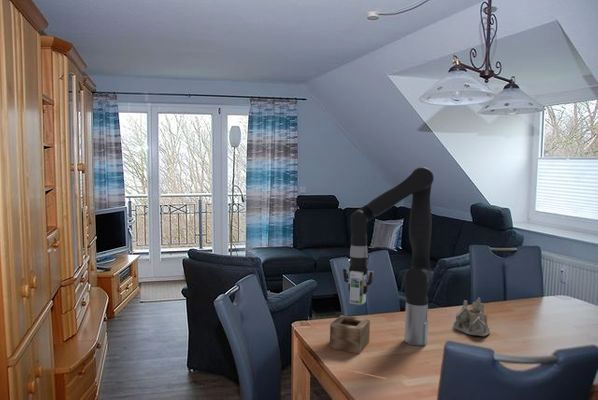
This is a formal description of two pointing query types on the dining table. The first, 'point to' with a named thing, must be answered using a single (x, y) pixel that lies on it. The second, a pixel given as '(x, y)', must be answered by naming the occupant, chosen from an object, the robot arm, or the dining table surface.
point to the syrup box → (357, 288)
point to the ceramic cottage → (472, 319)
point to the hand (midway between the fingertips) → (357, 292)
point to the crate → (349, 334)
